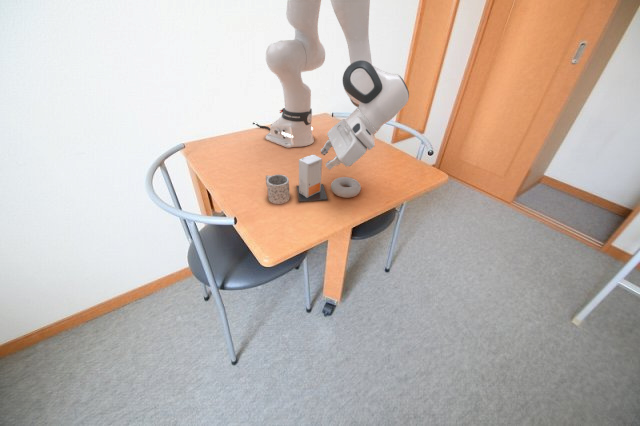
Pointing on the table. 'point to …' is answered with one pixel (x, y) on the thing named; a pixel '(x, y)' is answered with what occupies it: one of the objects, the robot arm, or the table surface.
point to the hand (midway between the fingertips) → (324, 160)
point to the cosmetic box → (310, 175)
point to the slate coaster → (313, 196)
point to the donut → (345, 187)
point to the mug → (278, 188)
